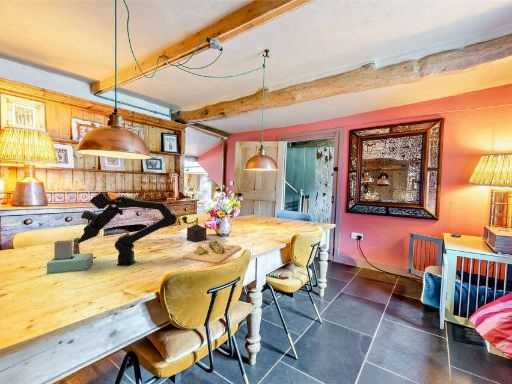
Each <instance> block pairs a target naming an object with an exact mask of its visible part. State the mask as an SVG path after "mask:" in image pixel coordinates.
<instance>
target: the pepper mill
mask: <svg viewBox="0 0 512 384" xmlns="http://www.w3.org/2000/svg"><path fill="white" fill-rule="evenodd" d="M195 219H196V220H194V221H191V222H188V221H187V220H188V216H186V215H185V216H182V217H181V220H182V221H183V222H182V223H183V224H187V225H190V224H193V225H192V226H189V227H187V226H186V241H189V242H192V243H199V242H204V241H207V230H208V229H207V227H205V226H201V225H200V224H198V221H199V218H198V217H196V218H195ZM195 223H196V224H195ZM203 240H204V241H203Z"/></svg>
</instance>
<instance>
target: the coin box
mask: <svg viewBox="0 0 512 384" xmlns="http://www.w3.org/2000/svg"><path fill="white" fill-rule="evenodd" d="M93 257H94V253H93V252H91V253H90V252H88V253H80V254H73V253H72V259H64V260H55V256H54V257H52V258H51V259H50V260H49V261H47V262H46V275H49V274H51V275H52V274H62V273H72V272H82V271H83V272H85V271H88V269H90V267H91V266H92V265H93V263H94V259H93Z"/></svg>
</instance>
